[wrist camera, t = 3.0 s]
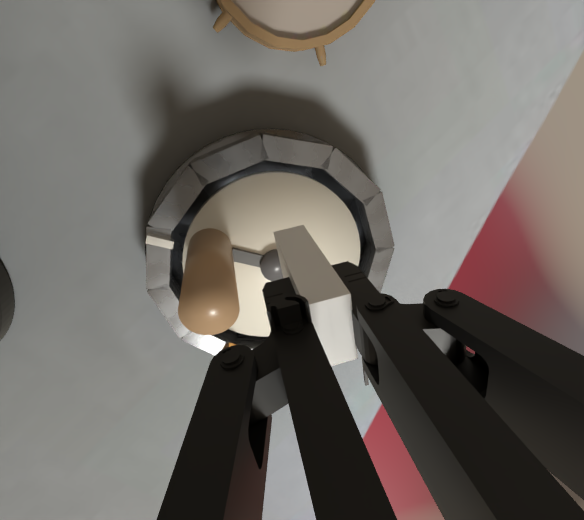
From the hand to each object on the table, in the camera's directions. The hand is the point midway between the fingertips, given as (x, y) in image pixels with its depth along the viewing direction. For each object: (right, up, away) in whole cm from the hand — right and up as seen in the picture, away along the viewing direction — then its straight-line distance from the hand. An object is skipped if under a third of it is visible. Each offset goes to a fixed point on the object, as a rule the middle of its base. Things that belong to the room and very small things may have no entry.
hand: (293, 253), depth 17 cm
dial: (-2, 0, +11) cm, 12 cm away
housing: (-2, 0, +13) cm, 13 cm away
